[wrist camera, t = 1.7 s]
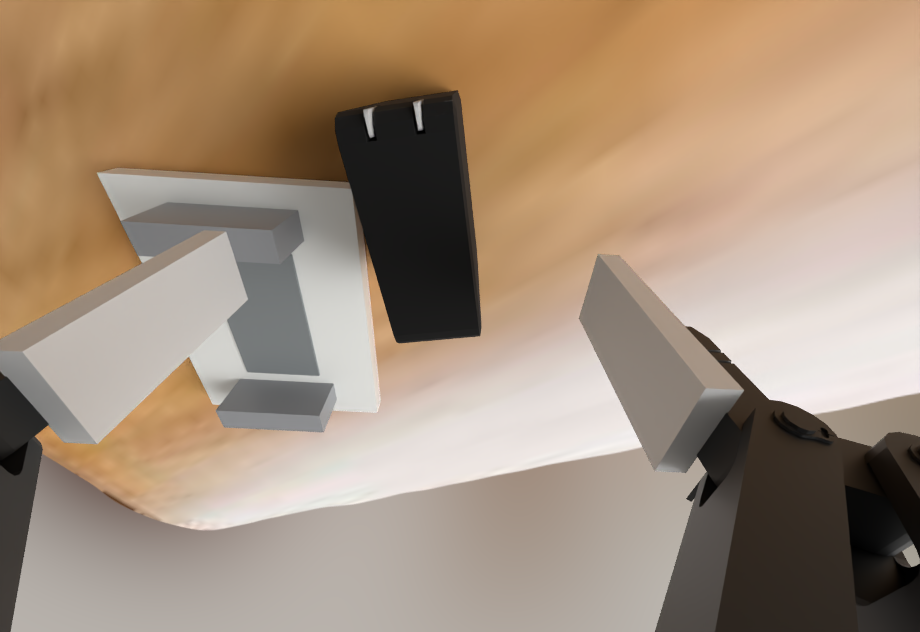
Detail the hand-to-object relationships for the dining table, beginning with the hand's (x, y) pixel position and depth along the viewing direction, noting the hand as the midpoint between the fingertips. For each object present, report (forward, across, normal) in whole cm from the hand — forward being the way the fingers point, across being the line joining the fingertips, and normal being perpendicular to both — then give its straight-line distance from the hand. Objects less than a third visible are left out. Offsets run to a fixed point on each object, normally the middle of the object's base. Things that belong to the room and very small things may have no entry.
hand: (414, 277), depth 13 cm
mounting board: (+12, -12, -9) cm, 19 cm away
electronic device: (+12, 0, +1) cm, 12 cm away
